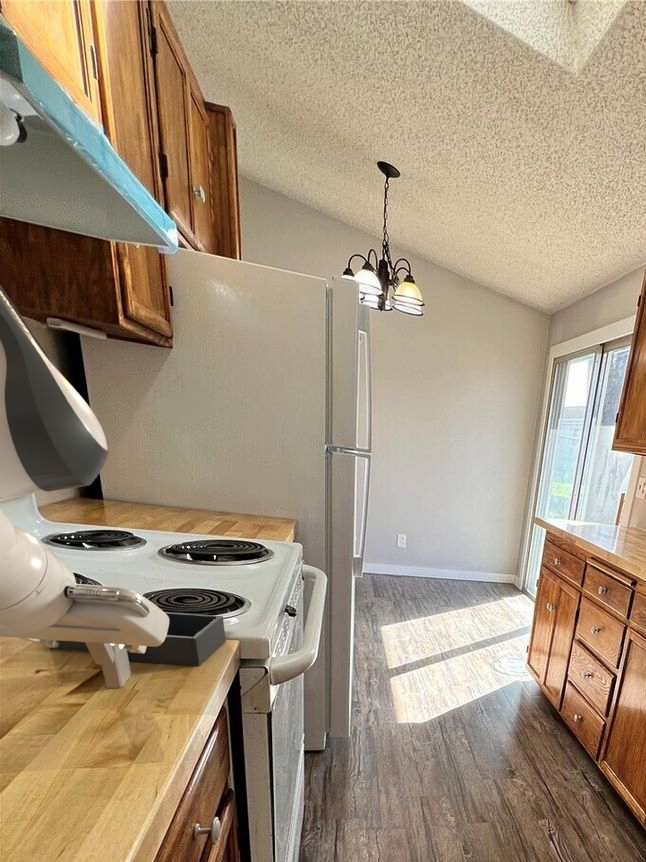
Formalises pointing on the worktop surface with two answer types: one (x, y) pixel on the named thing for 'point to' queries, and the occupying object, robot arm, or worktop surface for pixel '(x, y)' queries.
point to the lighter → (111, 662)
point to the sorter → (176, 641)
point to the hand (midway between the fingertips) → (97, 644)
